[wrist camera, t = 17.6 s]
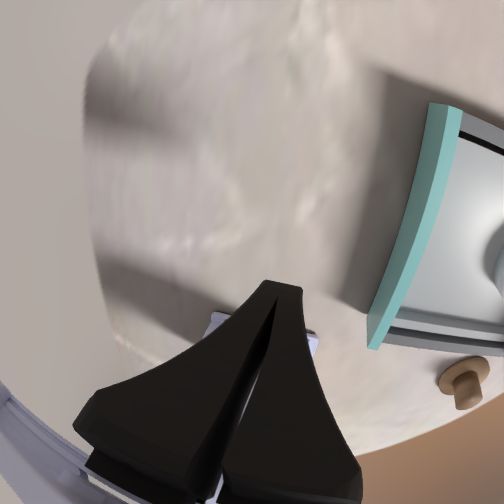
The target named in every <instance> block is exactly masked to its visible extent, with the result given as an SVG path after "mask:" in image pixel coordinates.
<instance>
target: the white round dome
mask: <svg viewBox="0 0 504 504" xmlns="http://www.w3.org/2000/svg"><path fill="white" fill-rule="evenodd" d="M493 279H494V283H495V286H496V287H497V289H498V291H499V293H500V295H501V297H502V299H503V301H504V248H503V249H502V251H501V252H500V254H499V256H498V258H497V260H496V263H495V266H494V271H493Z"/></svg>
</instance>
